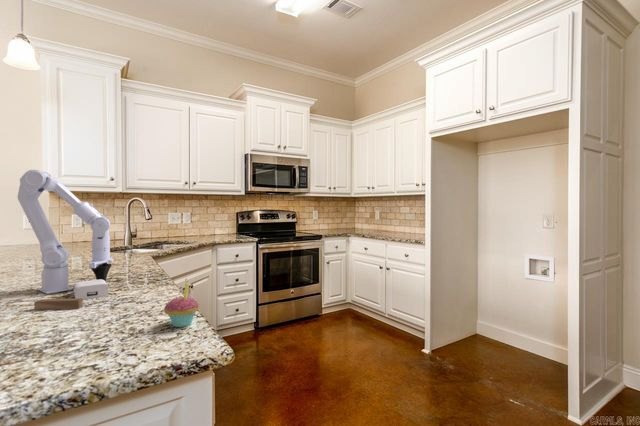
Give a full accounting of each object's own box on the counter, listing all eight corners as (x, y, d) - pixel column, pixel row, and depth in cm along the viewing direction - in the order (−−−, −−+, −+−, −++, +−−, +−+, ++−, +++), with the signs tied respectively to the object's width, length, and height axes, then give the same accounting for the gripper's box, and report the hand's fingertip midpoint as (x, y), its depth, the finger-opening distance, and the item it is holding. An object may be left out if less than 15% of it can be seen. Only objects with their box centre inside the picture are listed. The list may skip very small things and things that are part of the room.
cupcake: (205, 320, 93) (205, 277, 92) (183, 331, 85) (183, 284, 84) (180, 317, 96) (180, 275, 95) (156, 327, 88) (156, 281, 87)
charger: (102, 288, 128) (108, 296, 116) (72, 292, 122) (75, 301, 110) (102, 275, 128) (108, 283, 116) (72, 279, 122) (75, 287, 110)
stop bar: (39, 307, 103) (39, 299, 103) (82, 306, 105) (82, 298, 105) (34, 310, 101) (34, 301, 101) (78, 308, 103) (78, 300, 103)
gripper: (103, 250, 123) (104, 287, 123) (120, 245, 137) (120, 278, 137) (82, 251, 121) (82, 288, 122) (101, 246, 136) (101, 279, 136)
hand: (101, 283), depth 130 cm, fingers closed
